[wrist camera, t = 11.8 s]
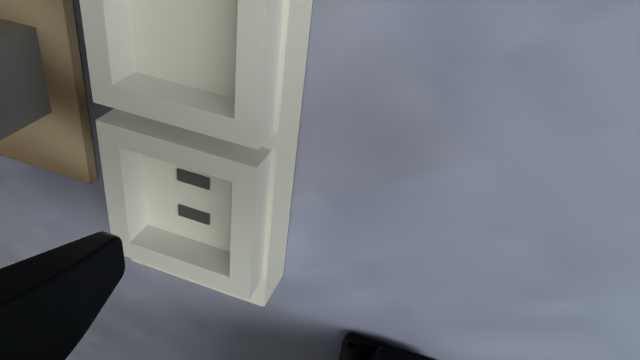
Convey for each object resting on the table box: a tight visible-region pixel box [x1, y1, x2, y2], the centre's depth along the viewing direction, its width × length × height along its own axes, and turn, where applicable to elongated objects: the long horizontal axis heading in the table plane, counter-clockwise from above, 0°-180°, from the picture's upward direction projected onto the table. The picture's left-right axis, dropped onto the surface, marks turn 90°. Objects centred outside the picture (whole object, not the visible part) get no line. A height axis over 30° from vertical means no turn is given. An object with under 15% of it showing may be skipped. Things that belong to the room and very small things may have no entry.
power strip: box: [79, 0, 313, 307], centre depth 22 cm, size 19×8×4 cm, turn 173°
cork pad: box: [0, 0, 97, 184], centre depth 27 cm, size 12×8×1 cm, turn 173°
